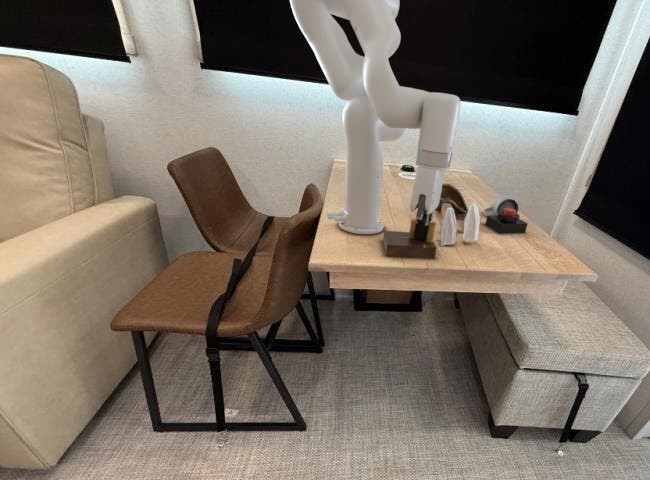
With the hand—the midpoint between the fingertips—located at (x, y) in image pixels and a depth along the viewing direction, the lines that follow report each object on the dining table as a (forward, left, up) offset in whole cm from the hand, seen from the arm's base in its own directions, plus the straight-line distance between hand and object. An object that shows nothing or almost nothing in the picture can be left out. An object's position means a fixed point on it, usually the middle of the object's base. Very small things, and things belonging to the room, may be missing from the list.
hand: (421, 237), depth 81 cm
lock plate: (-2, +1, -3) cm, 4 cm away
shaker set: (+14, +4, -4) cm, 14 cm away
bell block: (+36, +13, -3) cm, 38 cm away
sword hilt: (+18, +18, -4) cm, 25 cm away
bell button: (+36, +13, +1) cm, 38 cm away
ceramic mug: (+42, +24, -4) cm, 48 cm away
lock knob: (0, 0, 0) cm, 0 cm away
